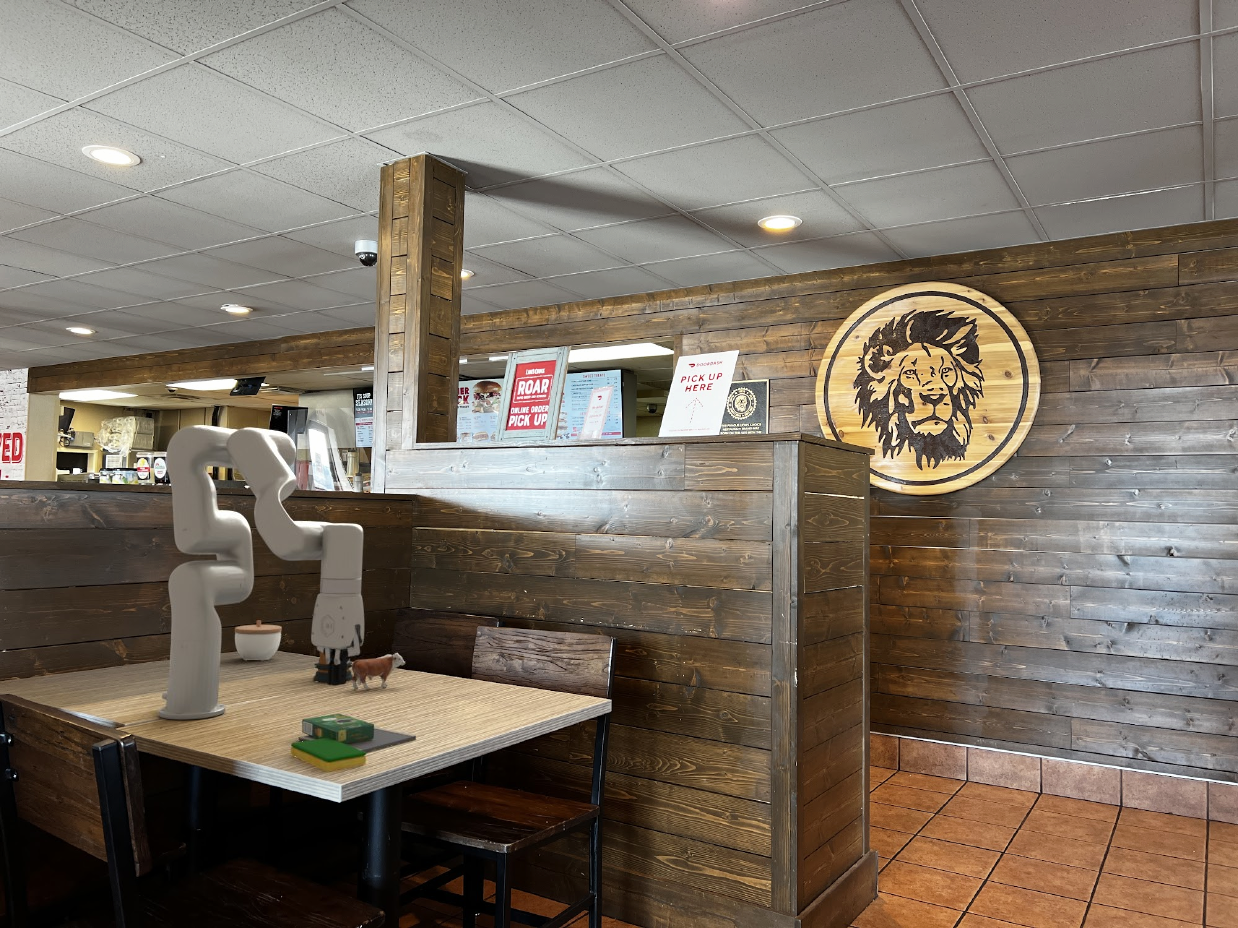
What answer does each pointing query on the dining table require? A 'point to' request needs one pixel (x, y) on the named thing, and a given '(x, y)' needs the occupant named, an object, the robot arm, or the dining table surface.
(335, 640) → the robot arm
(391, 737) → the mat
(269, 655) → the lidded bowl
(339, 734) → the coffee box
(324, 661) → the mug
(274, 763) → the dining table surface
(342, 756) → the dish sponge
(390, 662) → the bull figurine
